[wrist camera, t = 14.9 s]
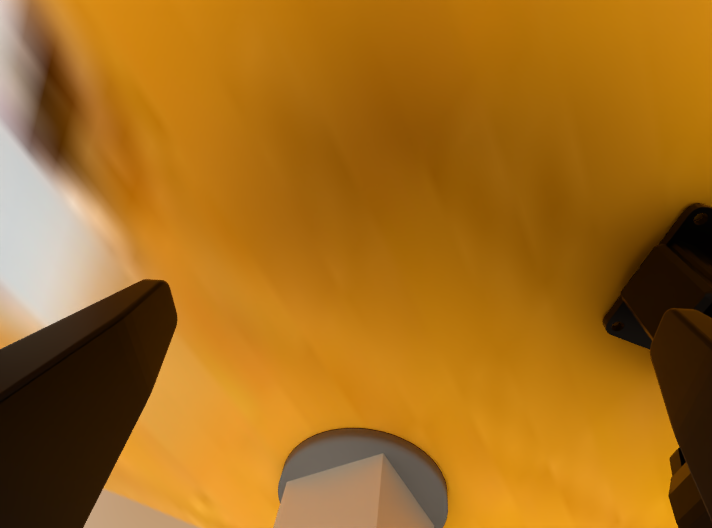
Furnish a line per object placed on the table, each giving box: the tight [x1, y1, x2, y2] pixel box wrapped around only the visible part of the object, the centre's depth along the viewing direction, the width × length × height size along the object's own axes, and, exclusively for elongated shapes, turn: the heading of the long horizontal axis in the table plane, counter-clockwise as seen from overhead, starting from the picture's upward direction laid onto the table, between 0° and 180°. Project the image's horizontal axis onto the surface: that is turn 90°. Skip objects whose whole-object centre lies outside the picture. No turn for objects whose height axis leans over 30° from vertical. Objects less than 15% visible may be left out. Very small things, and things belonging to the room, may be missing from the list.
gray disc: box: [278, 428, 448, 528], centre depth 28 cm, size 10×10×1 cm
